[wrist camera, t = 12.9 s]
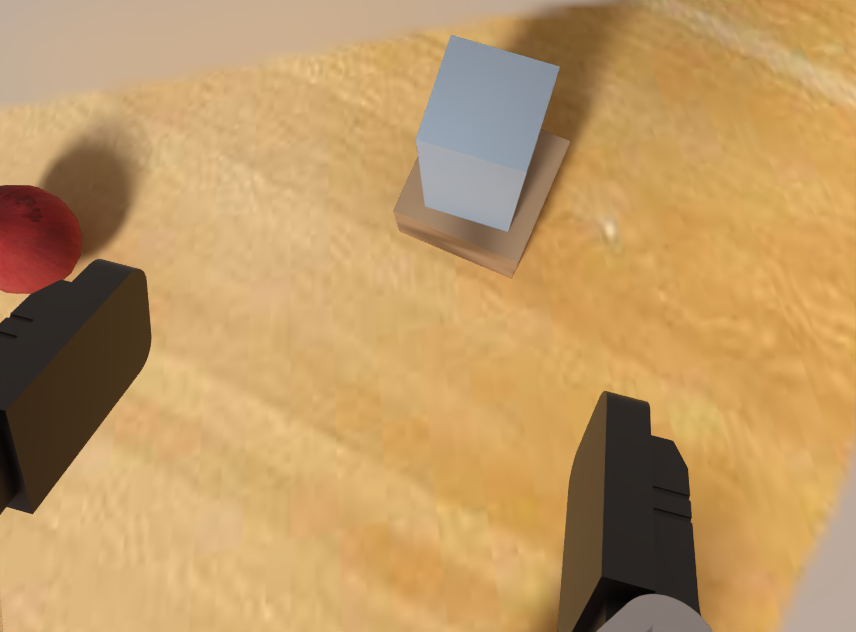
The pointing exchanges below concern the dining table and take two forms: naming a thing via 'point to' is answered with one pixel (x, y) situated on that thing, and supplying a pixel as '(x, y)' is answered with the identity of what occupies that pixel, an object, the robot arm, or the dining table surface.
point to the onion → (35, 239)
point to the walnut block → (479, 239)
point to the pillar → (482, 130)
